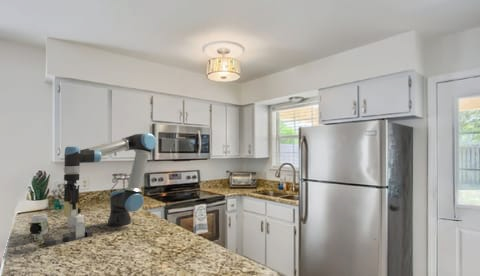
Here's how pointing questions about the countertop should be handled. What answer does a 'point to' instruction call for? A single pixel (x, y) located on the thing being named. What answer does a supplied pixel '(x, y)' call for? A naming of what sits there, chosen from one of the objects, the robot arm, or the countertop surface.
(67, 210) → the block
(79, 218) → the medicine bottle
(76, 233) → the light grey upright block
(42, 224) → the pneumatic valve
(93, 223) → the countertop surface
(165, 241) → the countertop surface
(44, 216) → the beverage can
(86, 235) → the rack
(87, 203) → the countertop surface
